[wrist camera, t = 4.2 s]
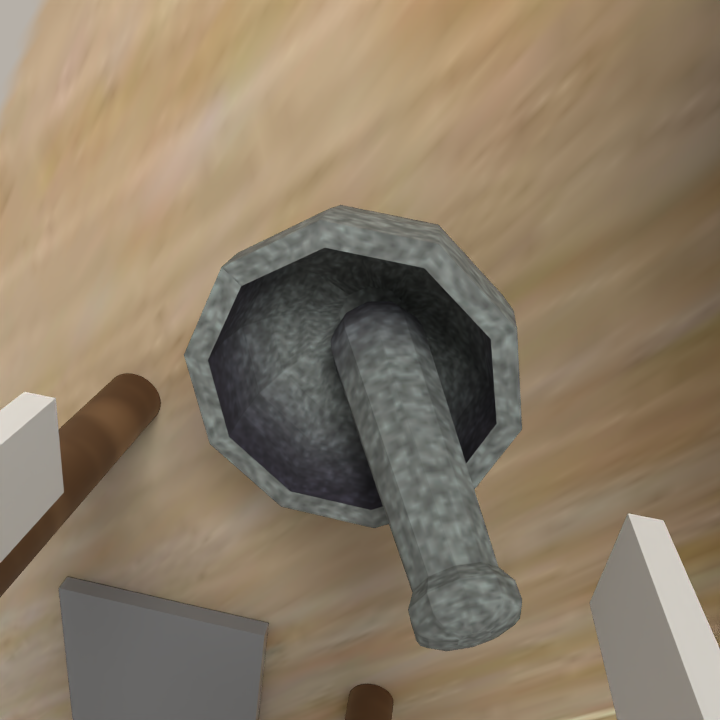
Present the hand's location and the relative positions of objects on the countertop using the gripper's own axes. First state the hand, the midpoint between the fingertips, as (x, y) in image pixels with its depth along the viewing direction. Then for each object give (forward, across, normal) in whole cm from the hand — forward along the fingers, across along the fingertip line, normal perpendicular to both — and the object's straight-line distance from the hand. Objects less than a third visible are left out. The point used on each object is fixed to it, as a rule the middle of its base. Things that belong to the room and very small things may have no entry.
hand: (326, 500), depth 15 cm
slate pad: (+11, -8, -24) cm, 28 cm away
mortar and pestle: (+11, 0, 0) cm, 11 cm away
